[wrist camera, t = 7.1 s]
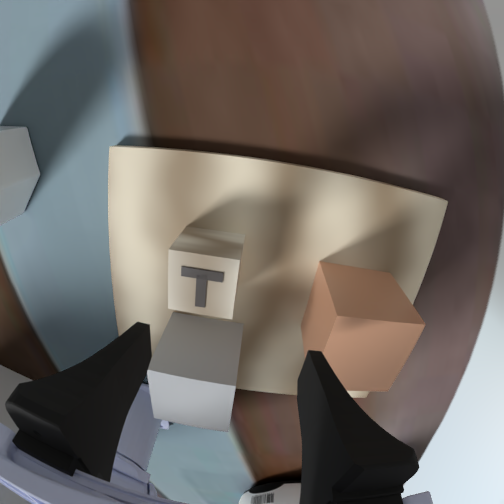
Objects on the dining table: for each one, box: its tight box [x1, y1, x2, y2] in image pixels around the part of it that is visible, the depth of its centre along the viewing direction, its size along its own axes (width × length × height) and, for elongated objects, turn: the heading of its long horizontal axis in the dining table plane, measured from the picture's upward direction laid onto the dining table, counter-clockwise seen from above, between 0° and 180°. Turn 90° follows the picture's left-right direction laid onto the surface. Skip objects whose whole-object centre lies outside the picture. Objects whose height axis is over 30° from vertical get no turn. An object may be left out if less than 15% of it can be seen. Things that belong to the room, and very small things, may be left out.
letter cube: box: [168, 226, 245, 319], centre depth 19 cm, size 4×4×4 cm
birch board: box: [108, 145, 448, 397], centre depth 23 cm, size 24×20×1 cm
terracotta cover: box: [301, 261, 426, 391], centre depth 19 cm, size 6×6×6 cm
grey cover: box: [147, 312, 244, 432], centre depth 21 cm, size 6×6×6 cm
